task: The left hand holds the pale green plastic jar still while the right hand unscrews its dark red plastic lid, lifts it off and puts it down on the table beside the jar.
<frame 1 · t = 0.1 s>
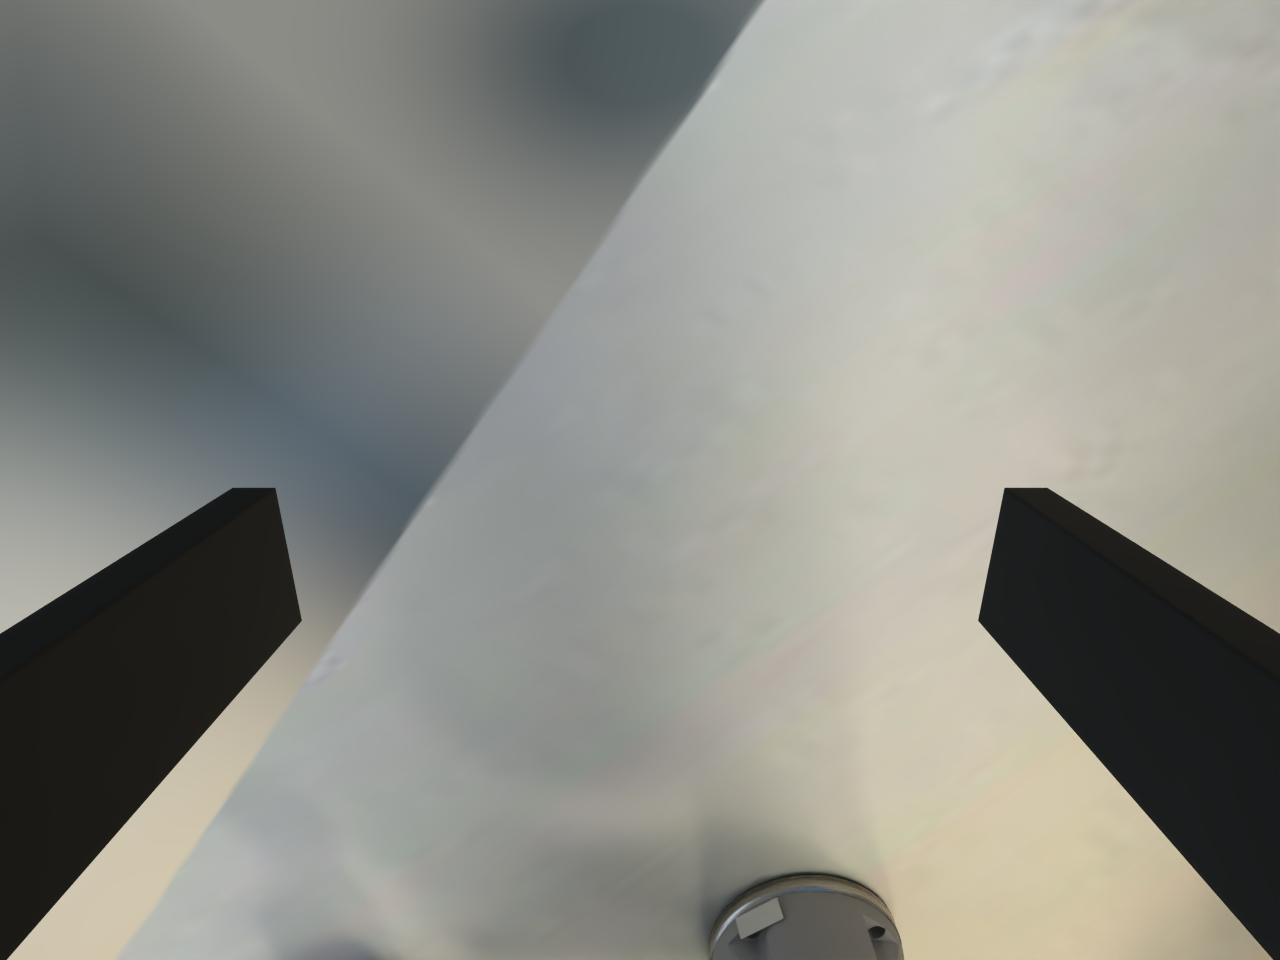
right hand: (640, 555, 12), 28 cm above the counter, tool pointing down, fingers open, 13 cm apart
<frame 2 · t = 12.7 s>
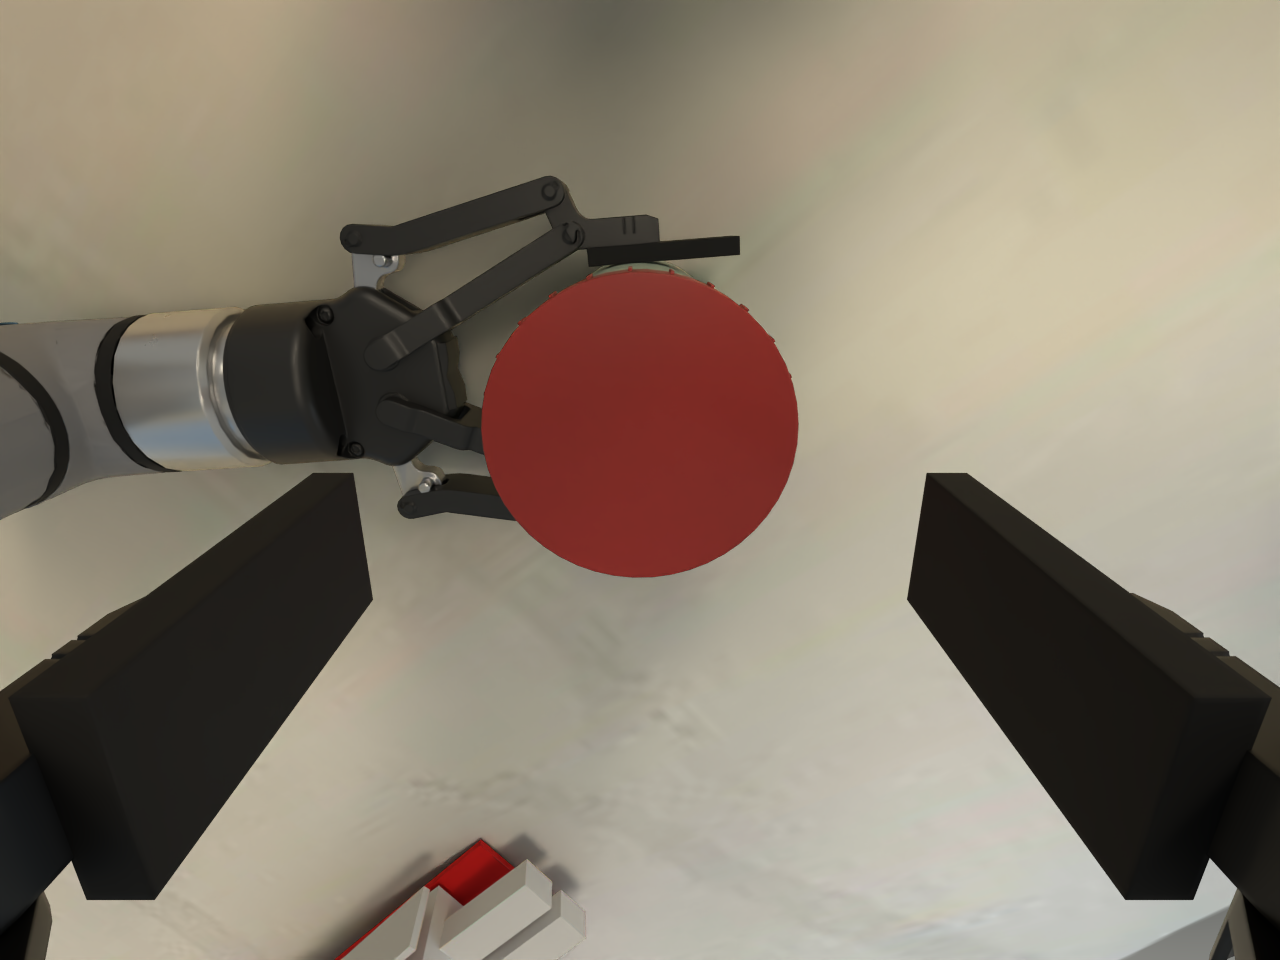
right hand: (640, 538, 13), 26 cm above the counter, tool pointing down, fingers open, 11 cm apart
left hand: (737, 351, 32), fingers closed on jar, 9 cm apart
lid: (639, 433, 20), point 19 cm above the counter, screwed on, not yet turned
jar: (639, 339, 37), on the counter, touching left hand
toy: (416, 933, 53), on the counter
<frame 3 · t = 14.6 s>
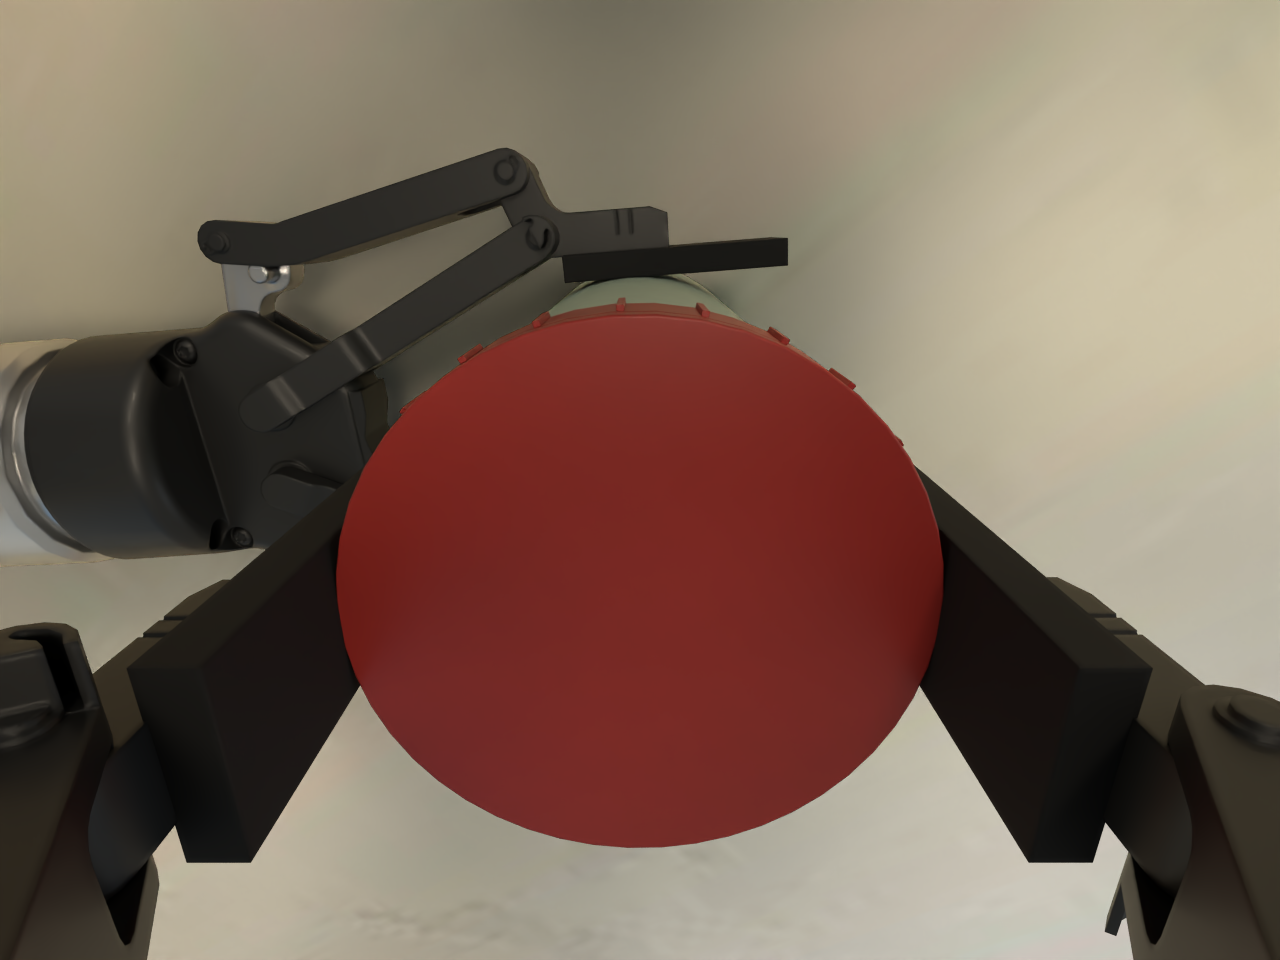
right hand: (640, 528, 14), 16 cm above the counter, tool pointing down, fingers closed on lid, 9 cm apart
left hand: (779, 400, 22), fingers closed on jar, 9 cm apart
lid: (639, 610, 11), point 19 cm above the counter, screwed on, not yet turned, touching right hand
jar: (640, 375, 28), on the counter, touching left hand
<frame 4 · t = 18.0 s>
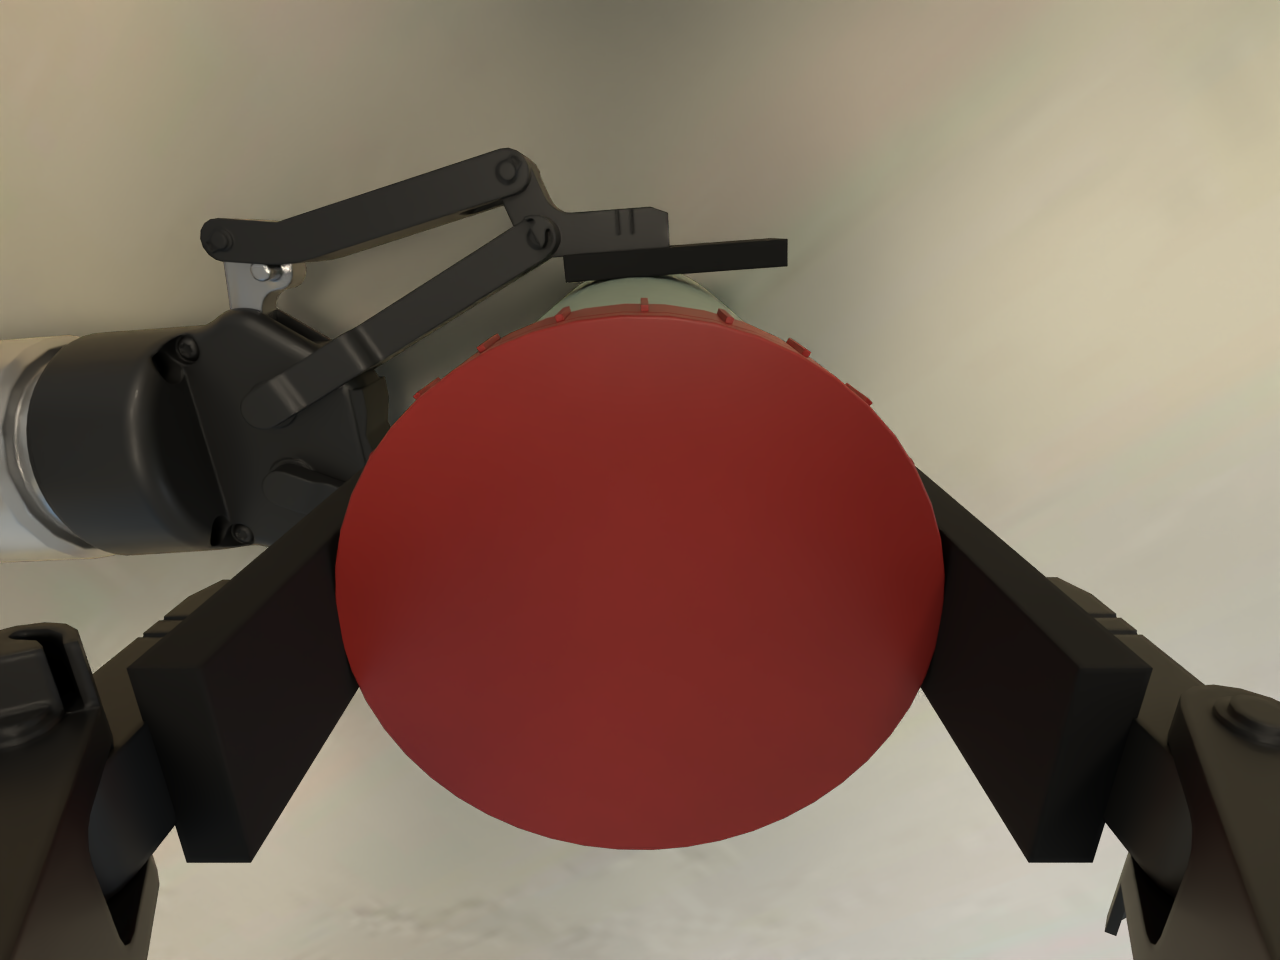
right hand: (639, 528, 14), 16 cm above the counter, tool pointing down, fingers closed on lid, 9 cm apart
left hand: (778, 400, 22), fingers closed on jar, 9 cm apart
lid: (639, 612, 11), point 19 cm above the counter, turned 126° so far, risen 0.2 cm, still on its thread, touching right hand
jar: (640, 374, 28), on the counter, touching left hand
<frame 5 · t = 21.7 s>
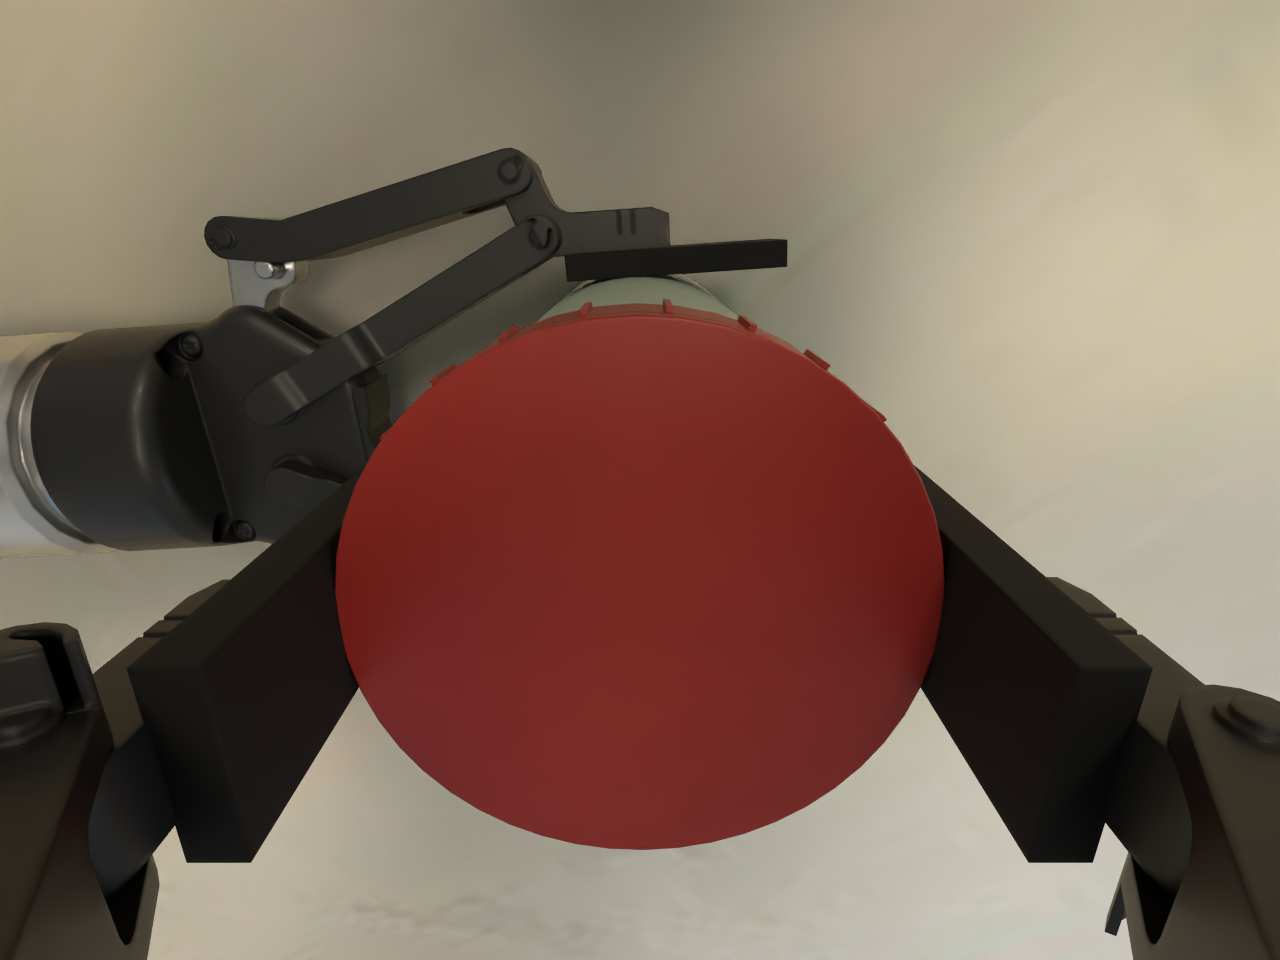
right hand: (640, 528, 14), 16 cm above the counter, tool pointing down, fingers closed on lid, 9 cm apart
left hand: (777, 400, 23), fingers closed on jar, 9 cm apart
lid: (639, 612, 11), point 19 cm above the counter, turned 252° so far, risen 0.3 cm, still on its thread, touching right hand
jar: (640, 373, 28), on the counter, touching left hand
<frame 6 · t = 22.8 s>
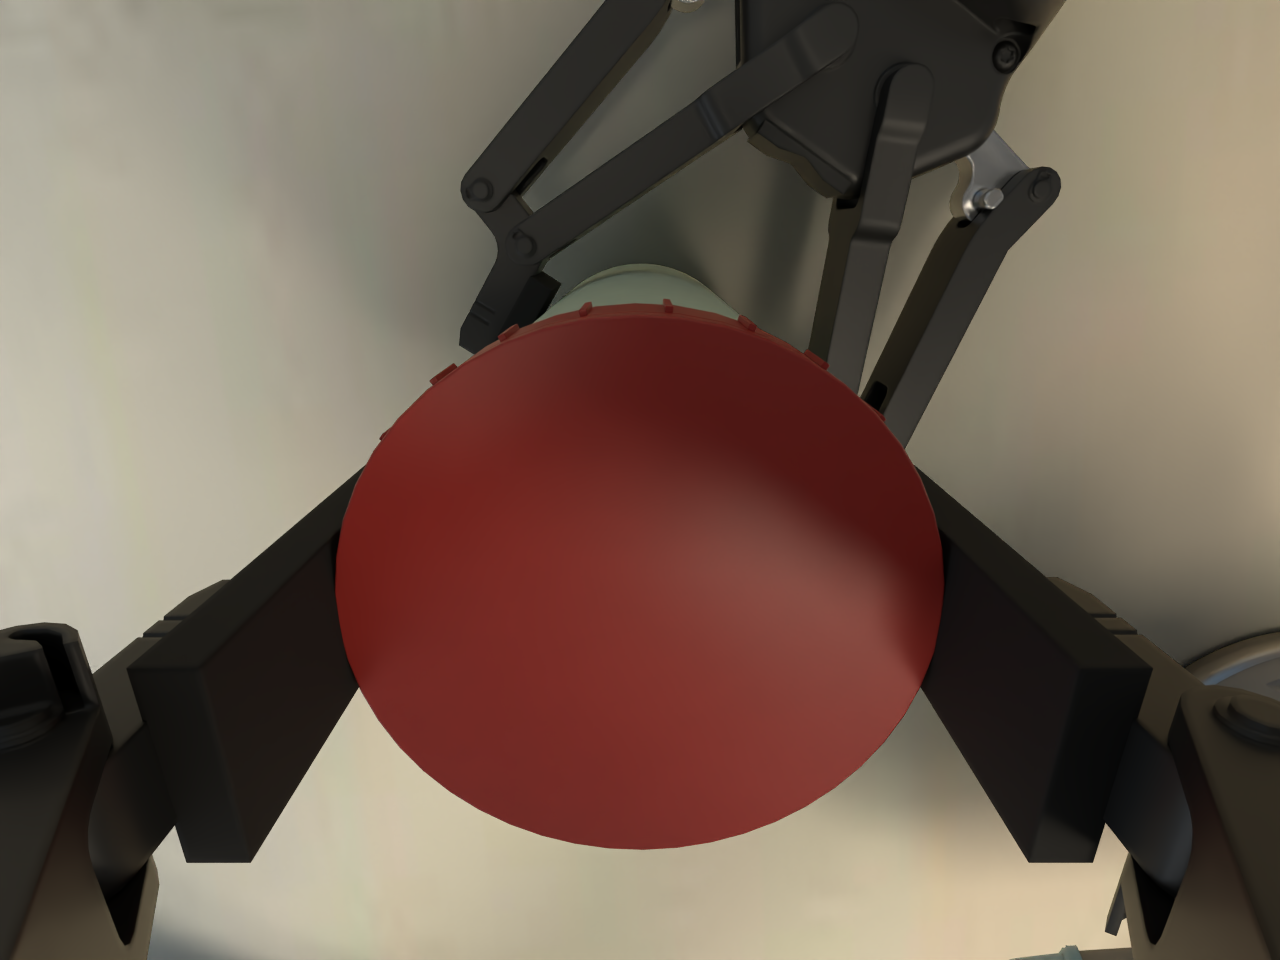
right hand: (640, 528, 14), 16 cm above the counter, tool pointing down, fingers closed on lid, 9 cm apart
left hand: (573, 512, 24), fingers closed on jar, 9 cm apart
lid: (639, 611, 11), point 19 cm above the counter, off its thread, touching right hand
jar: (640, 371, 29), on the counter, touching left hand
when the right hand's fingers open (0 cm above the counter, at t = 29.2 s): lid drops 2 cm, point 1 cm above the counter.
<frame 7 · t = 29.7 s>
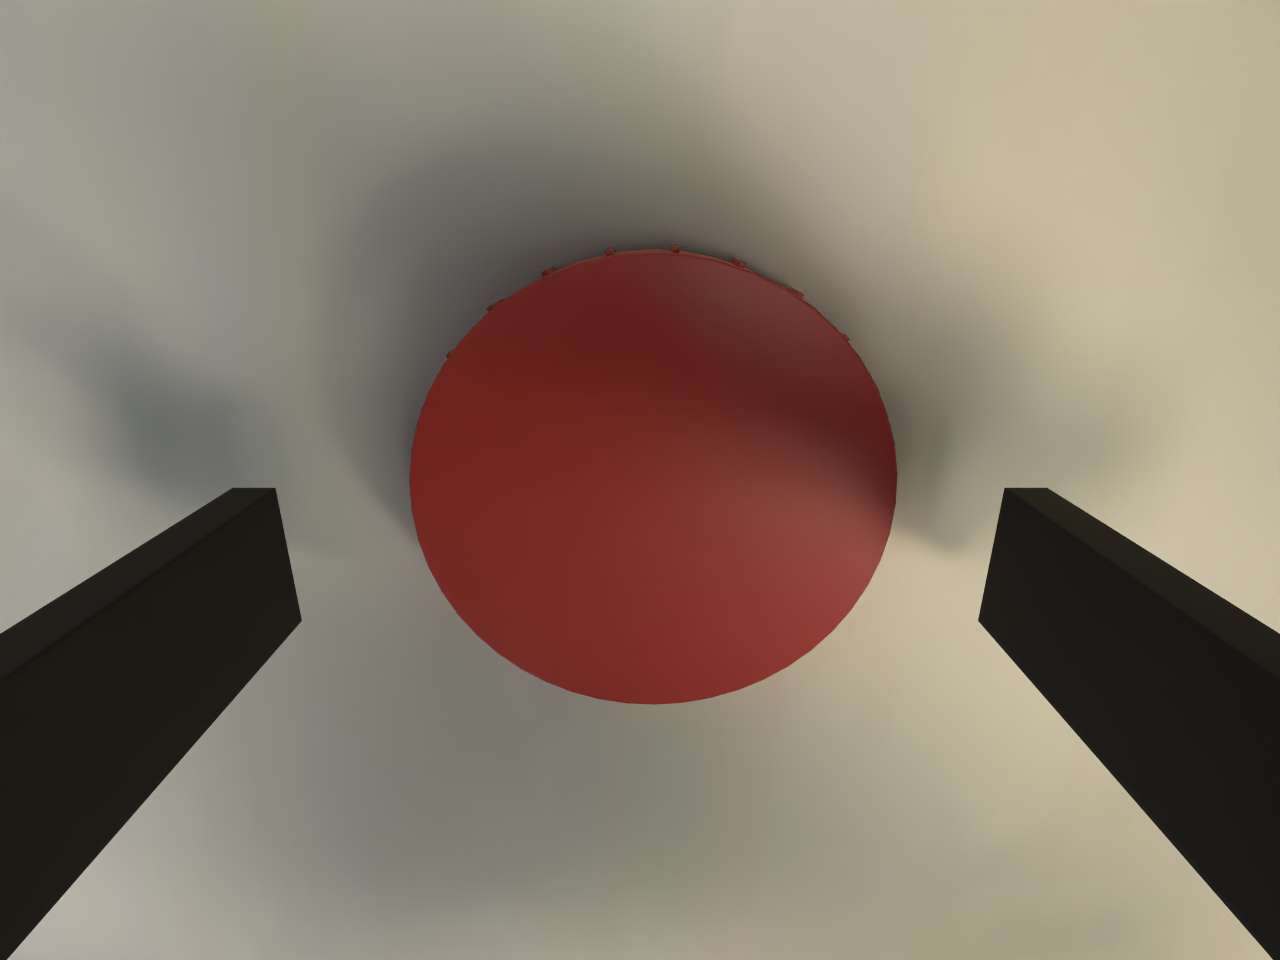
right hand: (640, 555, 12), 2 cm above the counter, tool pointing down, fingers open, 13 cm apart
lid: (652, 500, 13), point 1 cm above the counter, off its thread
when the left hand's fingers open (6 cm above the counter, at t = 30.2 s): jar stays where it is, on the counter.
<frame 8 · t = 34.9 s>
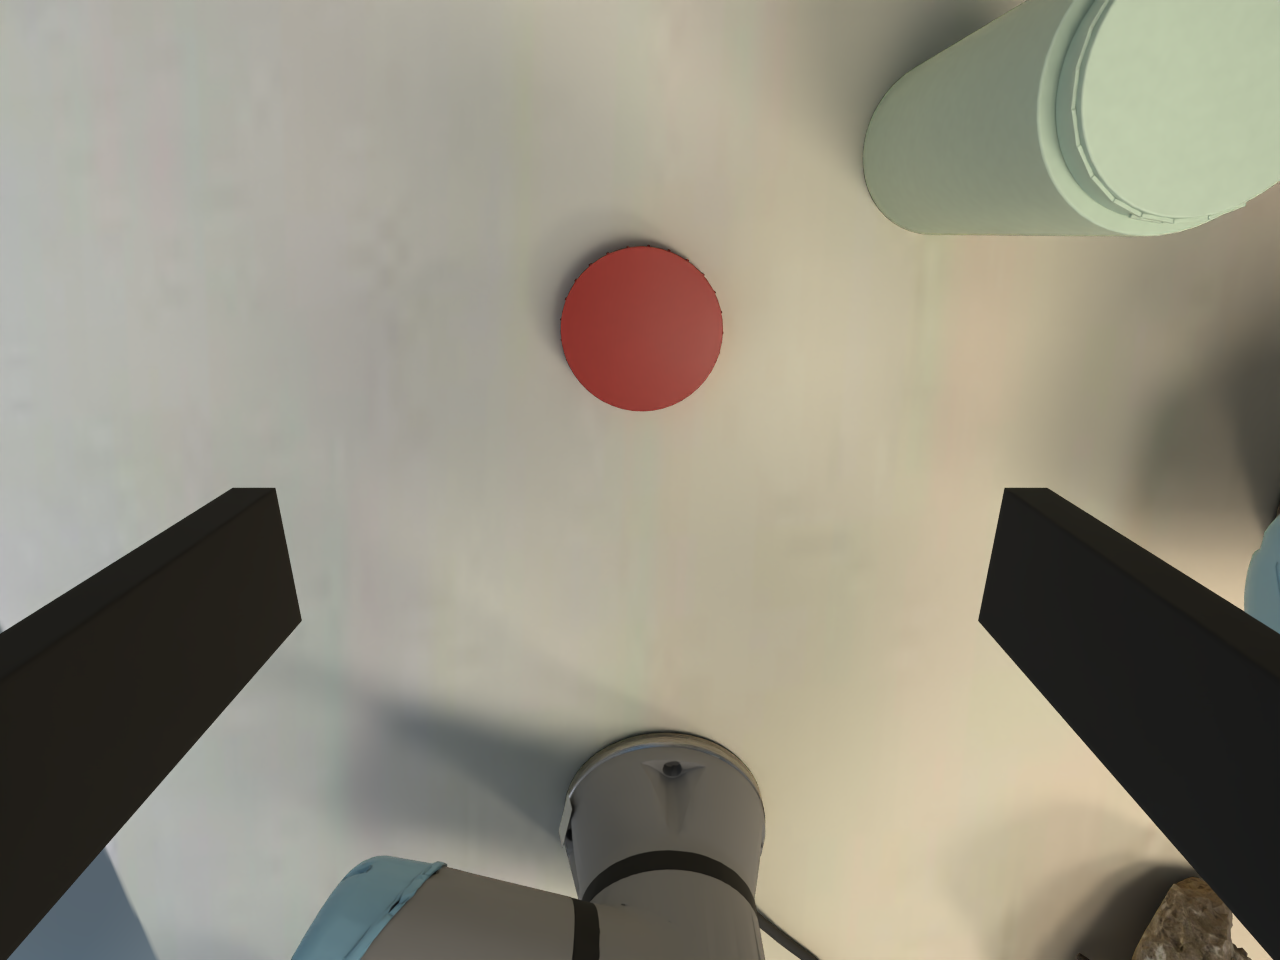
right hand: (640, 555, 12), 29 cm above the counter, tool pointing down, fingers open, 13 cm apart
lid: (641, 331, 39), point 1 cm above the counter, off its thread
jar: (943, 149, 36), on the counter
fossil: (1117, 956, 58), on the counter
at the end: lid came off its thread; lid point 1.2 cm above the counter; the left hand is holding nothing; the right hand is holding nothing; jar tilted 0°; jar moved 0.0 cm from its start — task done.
